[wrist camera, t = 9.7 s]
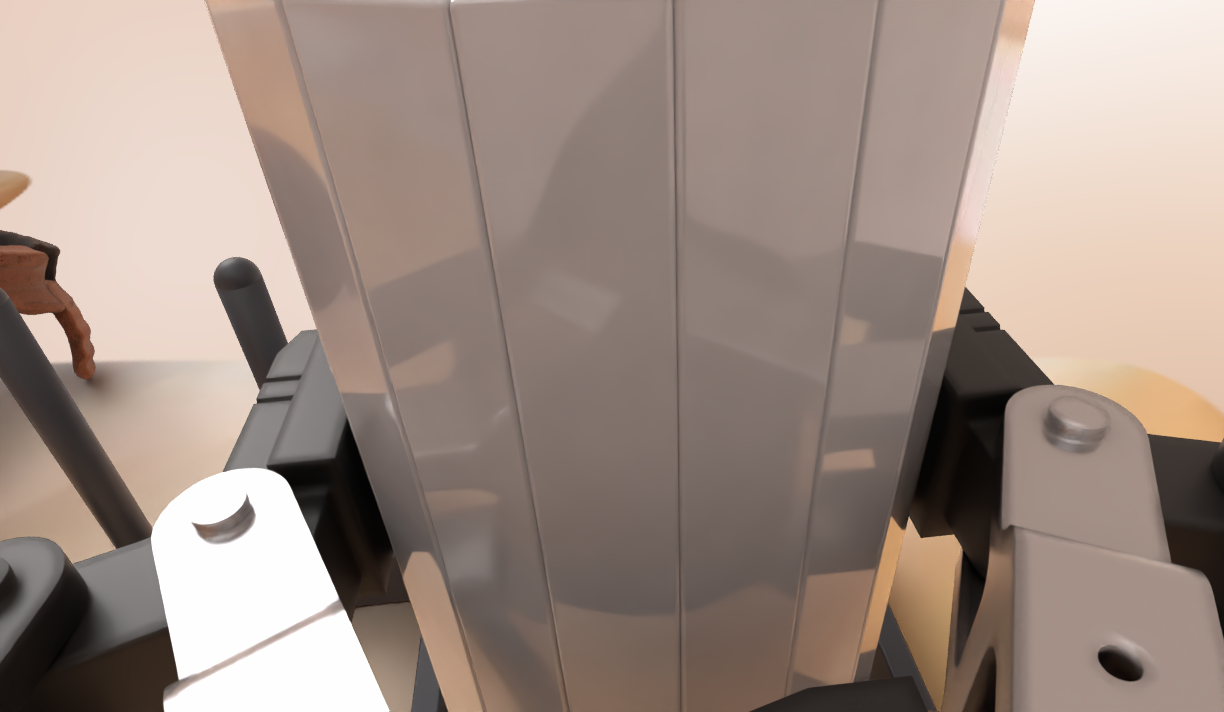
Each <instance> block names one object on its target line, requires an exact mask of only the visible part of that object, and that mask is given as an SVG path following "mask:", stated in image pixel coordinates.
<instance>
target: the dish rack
mask: <svg viewBox="0 0 1224 712" xmlns="http://www.w3.org/2000/svg"><path fill="white" fill-rule="evenodd" d="M214 284H215V287H216V289H217V292H218V294H219V296H220V299H221V301H222V303H223V305H224V308H225V310H226V313H227V315H228V317H229V319H230V322H231V324H232V327H233V329H234V331H235V334H236V336H237V338H238V340H239V343H240V345H241V347H242V350H243V352H244V354H245V357H246V359H247V361H248V364H249V366H250V368H251V371H252V373H253V375H254V378H255V380H256V382H257V385H258V387H259V389H260V390H261V388H262V386H263V383H266V377H267V375H268V373H269V370H270V368H271V366H272V364H273V362H274V360H275V357H276V355H277V353H279V352H280V351H281V350H282V349H283V348H284V347H285V346H286V345H287V344H288V342H287V340H286V337H285V335H284V332H283V329H282V327H281V324H280V322H279V319H278V316H277V314H276V311H275V308H274V306H273V303H272V301H271V298H270V296H269V293H268V290H267V288H266V285H265V282H264V280H263V277H262V275H261V272H260V270H259V269H258V267H257V266H256V265H255V264H254V263H253V262H251V261H250V260H248V259H245V258H240V257H233V258H229V259H226V260H224V261H223V262H221V263H220V264H219V265H218V267H217V268H216V270H215V272H214ZM0 378H1V379H2V381H3V382H4V384H5V385H6V387H7V388H8V390H9V391H10V393H11V394H12V395H13V397H14V398H15V400H16V401H17V403H18V404H19V406H20V407H21V409H22V410H23V412H24V413H25V415H26V416H27V418H28V419H29V421H30V422H31V424H32V425H33V427H34V428H35V429H36V431H37V432H38V434H39V435H40V437H41V438H42V440H43V441H44V443H45V444H46V446H47V447H48V449H49V450H50V452H51V453H52V455H53V456H54V458H55V459H56V461H57V462H58V463H59V465H60V466H61V468H62V469H63V471H64V472H65V474H66V475H67V477H68V478H69V480H70V481H71V483H72V484H73V486H74V487H75V489H76V490H77V492H78V493H79V494H80V496H81V497H82V499H83V500H84V502H85V503H86V505H87V506H88V508H89V509H90V511H91V512H92V514H93V515H94V517H95V518H96V520H97V521H98V523H99V524H100V526H101V527H102V528H103V530H104V531H105V533H106V534H107V536H108V537H109V539H110V540H111V542H112V543H113V545H114V546H115V548H116V549H119V548H122V547H125V546H128V545H131V544H134V543H137V542H139V541H142V540H145V539H147V538H150V537H151V536H152V531H153V528H152V527H151V525H150V524H149V522H148V520H147V519H146V517H145V515H144V514H143V512H142V511H141V509H140V507H139V506H138V504H137V503H136V501H135V499H134V498H133V496H132V494H131V493H130V491H129V490H128V488H127V486H126V485H125V483H124V482H123V480H122V478H121V477H120V475H119V473H118V472H117V470H116V469H115V467H114V465H113V464H112V462H111V461H110V459H109V457H108V456H107V454H106V452H105V451H104V449H103V448H102V446H101V444H100V443H99V441H98V440H97V438H96V436H95V435H94V433H93V431H92V430H91V428H90V427H89V425H88V423H87V422H86V420H85V419H84V417H83V415H82V414H81V412H80V411H79V409H78V407H77V406H76V404H75V402H74V401H73V399H72V398H71V396H70V394H69V393H68V391H67V390H66V388H65V386H64V385H63V383H62V381H61V380H60V378H59V377H58V375H57V373H56V372H55V370H54V369H53V367H52V365H51V364H50V362H49V360H48V359H47V357H46V356H45V354H44V353H43V351H42V349H41V348H40V346H39V344H38V343H37V341H36V340H35V338H34V336H33V335H32V333H31V331H30V330H29V328H28V327H27V325H26V324H25V322H24V320H23V319H22V317H21V315H20V314H19V312H18V310H17V309H16V307H15V306H14V304H13V302H12V301H11V299H10V298H9V296H8V295H7V293H6V292H5V291H4V290H3V289H1V288H0ZM401 601H410V599H409V596H408V593H407V590H406V587H405V584H404V581H403V579H402V576H401V573H400V570H399V567H398V564H397V561H396V558H395V555H394V554H393V560H392V565H391V571H390V576H389V582H388V587H387V593H386V595H384V596H375V597H366V598H357V600H356V604H355V607H357V606H366V605H375V604H383V603H392V602H401ZM905 676H912V677H913V679H914V682H915V684H916V686H917V688H918V691H919V693H920V695H921V697H922V700H923V702H924V704H925V706H926V709H927V710H931V711H937V710H936V708H935V706H934V704H933V701H932V699H931V697H930V695H929V692H928V690H927V688H926V686H925V684H924V681H923V679H922V677H921V675H920V672H919V670H918V668H917V666H916V664H915V661H914V659H913V657H912V655H911V652H910V650H909V648H908V646H907V644H906V641H905V639H904V637H903V635H902V632H901V630H900V628H899V626H898V624H897V621H896V619H895V617H894V615H893V613H892V610H891V608H890V606H889V604H888V603H887V607H886V611H885V615H884V620H883V624H882V628H881V632H880V636H879V640H878V644H877V648H876V652H875V656H874V660H873V664H872V669H871V673H870V677H869V681H871V680H879V679H888V678H896V677H905ZM411 712H448V710H447V707H446V704H445V701H444V698H443V695H442V692H441V689H440V686H439V684H438V681H437V678H436V675H435V672H434V669H433V666H432V663H431V660H430V657H429V654H428V651H427V649H426V646H425V643H424V640H423V637H422V634H421V640H420V648H419V655H418V663H417V671H416V678H415V686H414V694H413V701H412V709H411Z"/></svg>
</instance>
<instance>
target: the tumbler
mask: <svg viewBox="0 0 1224 712" xmlns="http://www.w3.org/2000/svg"><path fill="white" fill-rule="evenodd" d="M204 1H205V4H206V7H207V10H208V13H209V16H210V19H211V22H212V25H213V28H214V31H215V33H216V36H217V39H218V42H219V45H220V48H221V51H222V54H223V56H224V59H225V62H226V66H227V68H228V71H229V74H230V77H231V80H232V83H233V86H234V89H235V92H236V95H237V98H238V100H239V103H240V106H241V109H242V112H243V115H244V118H245V121H246V124H247V127H248V130H249V133H250V135H251V138H252V141H253V144H254V147H255V150H256V153H257V155H258V159H259V162H260V165H261V168H262V170H263V173H264V176H265V179H266V182H267V185H268V188H269V191H270V194H271V197H272V199H273V203H274V205H275V208H276V211H277V214H278V217H279V220H280V223H281V226H282V229H283V232H284V235H285V238H286V240H287V243H288V246H289V249H290V252H291V255H292V258H293V261H294V264H295V267H296V270H297V272H298V275H299V278H300V281H301V284H302V287H303V289H304V293H305V296H306V299H307V302H308V304H309V307H310V310H311V313H312V316H313V319H314V322H315V325H316V328H317V331H318V334H319V337H320V340H321V342H322V345H323V348H324V351H325V354H326V357H327V360H328V363H329V366H330V369H331V372H332V375H333V377H334V380H335V383H336V386H337V389H338V392H339V395H340V398H341V401H342V404H343V407H344V410H345V412H346V415H347V418H348V421H349V424H350V427H351V430H352V433H353V436H354V439H355V442H356V444H357V447H358V450H359V453H360V456H361V459H362V462H363V465H364V468H365V471H366V474H367V477H368V479H369V482H370V485H371V488H372V491H373V494H374V497H375V500H376V503H377V506H378V509H379V512H380V514H381V517H382V520H383V523H384V526H385V529H386V532H387V535H388V538H389V541H390V544H391V547H392V549H393V552H394V555H395V558H396V561H397V564H398V567H399V570H400V573H401V576H402V579H403V581H404V584H405V587H406V590H407V593H408V596H409V599H410V602H411V605H412V608H413V611H414V614H415V616H416V619H417V622H418V625H419V628H420V631H421V634H422V637H423V640H424V643H425V646H426V649H427V651H428V654H429V657H430V660H431V663H432V666H433V669H434V672H435V675H436V678H437V681H438V684H439V686H440V689H441V692H442V695H443V698H444V701H445V704H446V707H447V710H448V712H749V711H752V710H754V709H757V708H759V707H762V706H764V705H767V704H769V703H772V702H774V701H777V700H779V699H782V698H784V697H787V696H789V695H792V694H794V693H796V692H799V691H801V690H804V689H806V688H811V687H819V686H828V685H836V684H845V683H853V682H862V681H869V677H870V673H871V669H872V664H873V660H874V656H875V652H876V648H877V644H878V640H879V636H880V632H881V628H882V624H883V620H884V615H885V611H886V607H887V603H888V599H889V595H890V591H891V587H892V583H893V579H894V575H895V571H896V566H897V562H898V558H899V554H900V550H901V546H902V542H903V538H904V534H905V530H906V526H907V522H908V517H909V513H910V509H911V505H912V501H913V497H914V493H915V489H916V485H917V481H918V477H919V472H920V468H921V464H922V460H923V456H924V452H925V448H926V444H927V440H928V436H929V432H930V428H931V423H932V419H933V415H934V411H935V407H936V403H937V399H938V395H939V391H940V387H941V383H942V379H943V374H944V370H945V366H946V362H947V358H948V354H949V350H950V346H951V342H952V338H953V334H954V330H955V325H956V321H957V317H958V313H959V309H960V305H961V301H962V297H963V293H964V289H965V284H966V280H967V276H968V272H969V268H970V264H971V260H972V256H973V252H974V248H975V244H976V240H977V235H978V232H979V227H980V223H981V219H982V215H983V211H984V207H985V203H986V199H987V195H988V190H989V187H990V182H991V178H992V174H993V170H994V166H995V162H996V158H997V154H998V150H999V146H1000V142H1001V138H1002V133H1003V129H1004V125H1005V121H1006V117H1007V113H1008V109H1009V105H1010V101H1011V97H1012V93H1013V89H1014V85H1015V80H1016V76H1017V72H1018V68H1019V64H1020V60H1021V56H1022V52H1023V47H1024V44H1025V40H1026V35H1027V31H1028V27H1029V23H1030V19H1031V15H1032V11H1033V6H1034V3H1035V0H204Z"/></svg>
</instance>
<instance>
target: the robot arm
mask: <svg viewBox="0 0 1224 712" xmlns="http://www.w3.org/2000/svg"><path fill="white" fill-rule="evenodd" d="M909 517H910V519H911V520H912V522H913V524H914V526H915V528H916V530H917V532H918V533H919V535H920V537H921V538H925V537H934V536H943V535H952V534H954V535H955V536H956V538H957V540H958V541H959V543H960V545H961V547H962V548H961V551H960V554H959V557H958V561H957V564H956V569H955V580H954V591H953V602H952V613H951V625H950V636H949V647H948V658H947V669H946V680H945V689H944V696H943V702H942V707H941V712H1224V439H1223V440H1222V442H1221V443H1220V442H1211V441H1203V440H1194V439H1185V438H1176V437H1168V436H1159V435H1152V434H1147V432H1146V430H1145V428H1144V427H1143V425H1142V423H1141V422H1140V421H1139V420H1138V419H1137V418H1136V417H1135V416H1134V415H1133V414H1132V413H1131V412H1129V411H1128V410H1127V409H1125V408H1124V407H1122V406H1121V405H1119V404H1118V403H1116V402H1114V401H1112V400H1110V399H1108V398H1106V397H1104V396H1101V395H1099V394H1097V393H1094V392H1091V391H1087V390H1084V389H1080V388H1075V387H1070V386H1063V385H1054V384H1053V383H1052V382H1051V381H1050V379H1049V378H1048V377H1047V376H1046V375H1045V374H1044V373H1043V372H1042V371H1041V370H1040V368H1039V367H1038V366H1037V365H1036V364H1035V363H1034V362H1033V361H1032V360H1031V359H1030V357H1029V356H1028V355H1027V354H1026V353H1025V352H1024V351H1023V350H1022V349H1021V348H1020V346H1019V345H1018V344H1017V343H1016V342H1015V341H1014V340H1013V339H1012V338H1011V337H1010V336H1009V334H1008V333H1007V332H1006V331H1005V330H1000V324H999V323H998V322H997V321H996V320H995V319H994V318H993V317H992V316H991V315H990V313H989V312H984V307H983V306H982V305H981V304H980V303H979V301H978V300H977V299H976V298H975V297H974V296H973V295H972V294H971V293H970V292H969V290H968V289H967V288H966V287H965V289H964V293H963V297H962V301H961V305H960V309H959V313H958V317H957V321H956V325H955V330H954V334H953V338H952V342H951V346H950V350H949V354H948V358H947V362H946V366H945V370H944V374H943V379H942V383H941V387H940V391H939V395H938V399H937V403H936V407H935V411H934V415H933V419H932V423H931V428H930V432H929V436H928V440H927V444H926V448H925V452H924V456H923V460H922V464H921V468H920V472H919V477H918V481H917V485H916V489H915V493H914V497H913V501H912V505H911V509H910V513H909ZM393 554H394V552H393V549H392V547H391V544H390V541H389V538H388V535H387V532H386V529H385V526H384V523H383V520H382V517H381V514H380V512H379V509H378V506H377V503H376V500H375V497H374V494H373V491H372V488H371V485H370V482H369V479H368V477H367V474H366V471H365V468H364V465H363V462H362V459H361V456H360V453H359V450H358V447H357V444H356V442H355V439H354V436H353V433H352V430H351V427H350V424H349V421H348V418H347V415H346V412H345V410H344V407H343V404H342V401H341V398H340V395H339V392H338V389H337V386H336V383H335V380H334V377H333V375H332V372H331V369H330V366H329V363H328V360H327V357H326V354H325V351H324V348H323V345H322V342H321V340H320V337H319V334H318V331H317V330H307V331H301V332H300V333H299V334H298V335H297V336H296V337H295V338H294V339H293V340H292V341H290V342H289V343H288V344H287V345H286V346H285V347H284V348H283V349H282V350H281V351H280V352H279V353H277V355H276V357H275V360H274V362H273V364H272V366H271V368H270V370H269V373H268V375H267V377H266V383H263V386H262V388H261V390H260V392H259V394H258V396H257V404H254V405H253V407H252V409H251V412H250V414H249V416H248V418H247V420H246V422H245V425H244V427H243V429H242V431H241V433H240V435H239V438H238V440H237V442H236V444H235V446H234V448H233V451H232V453H231V455H230V457H229V459H228V461H227V464H226V466H225V468H224V470H223V472H222V473H220V474H217V475H214V476H211V477H209V478H207V479H205V480H203V481H201V482H199V483H197V484H195V485H193V486H192V487H190V488H188V489H187V490H186V491H184V492H183V493H181V494H180V495H179V496H178V497H176V498H175V499H174V500H173V501H172V502H171V503H170V504H169V505H168V506H167V507H166V508H165V509H164V511H163V512H162V513H161V515H160V516H159V518H158V519H157V521H156V523H155V526H154V528H153V531H152V536H151V537H150V538H147V539H145V540H142V541H139V542H137V543H134V544H131V545H128V546H125V547H122V548H119V549H116V550H113V551H110V552H107V553H104V554H101V555H98V556H95V557H92V558H89V559H86V560H83V561H80V562H77V563H74V564H72V563H71V561H70V560H69V559H68V557H67V556H66V554H65V553H64V552H63V550H62V549H61V548H60V547H59V546H58V545H57V544H56V543H55V542H53V541H51V540H49V539H45V538H41V537H20V538H13V539H9V540H4V541H1V542H0V712H390V711H389V709H388V707H387V704H386V702H385V700H384V698H383V695H382V693H381V691H380V689H379V686H378V684H377V682H376V680H375V677H374V675H373V673H372V671H371V668H370V666H369V664H368V661H367V659H366V657H365V655H364V652H363V650H362V648H361V646H360V643H359V641H358V639H357V637H356V634H355V632H354V630H353V628H352V625H351V623H352V618H353V614H354V609H355V604H356V600H357V598H366V597H375V596H384V595H386V593H387V587H388V582H389V576H390V571H391V565H392V560H393ZM749 712H938V711H931V710H927V709H926V706H925V704H924V702H923V700H922V697H921V695H920V693H919V691H918V688H917V686H916V684H915V682H914V679H913V677H912V676H905V677H896V678H888V679H879V680H871V681H862V682H853V683H845V684H836V685H828V686H819V687H811V688H806V689H804V690H801V691H799V692H796V693H794V694H792V695H789V696H787V697H784V698H782V699H779V700H777V701H774V702H772V703H769V704H767V705H764V706H762V707H759V708H757V709H754V710H752V711H749Z"/></svg>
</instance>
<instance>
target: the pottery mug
mask: <svg viewBox="0 0 1224 712" xmlns="http://www.w3.org/2000/svg"><path fill="white" fill-rule="evenodd" d="M59 254H60V250H59V248H58V247H56V246H54V245H53V244H49V243H47V242H43V241H40V240H37V239H34V238H32V237H29V236H22V235H19V234H17V233H13V232H7V231H2V230H0V288H1V289H3V290H4V291H5V292H6V293H7V295H8V296H9V298H10V299H11V301H12V302H13V304H14V306H15V307H16V309H17V310H18V312H19V313H21V314H27V315H37V314H43V313H53V314H54V315H55V317H56V318H57V320H58V321H59V323H60V324H61V326H62V327H63V329H64V331H65V333H66V335H67V337H68V341H69V344H70V348H71V352H72V360H73V368H74V372H75V373H76V375H77V376H78V377H80V378H82V379H86V380H88V379H90V378H91V377H92V376H93V374H94V372H95V370H96V367H95V363H94V361H93V355H94V352H95V351H94V347H93V345H92V343H91V341H90V332H91V330H90V327H89V325H88V324H87V323H86V321H85V320H84V319H83V317H82V314H81V312H80V310H79V309H78V307H77V306H76V304H75V303H74V301H73V299H72V297H71V296H70V295H69V294H67V293H66V292H65V291H64V290H63V289H62V288H61V287H60V286H59V284H58V283H57V282H56V280H55V276H56V265H57V259H58V256H59Z"/></svg>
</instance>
